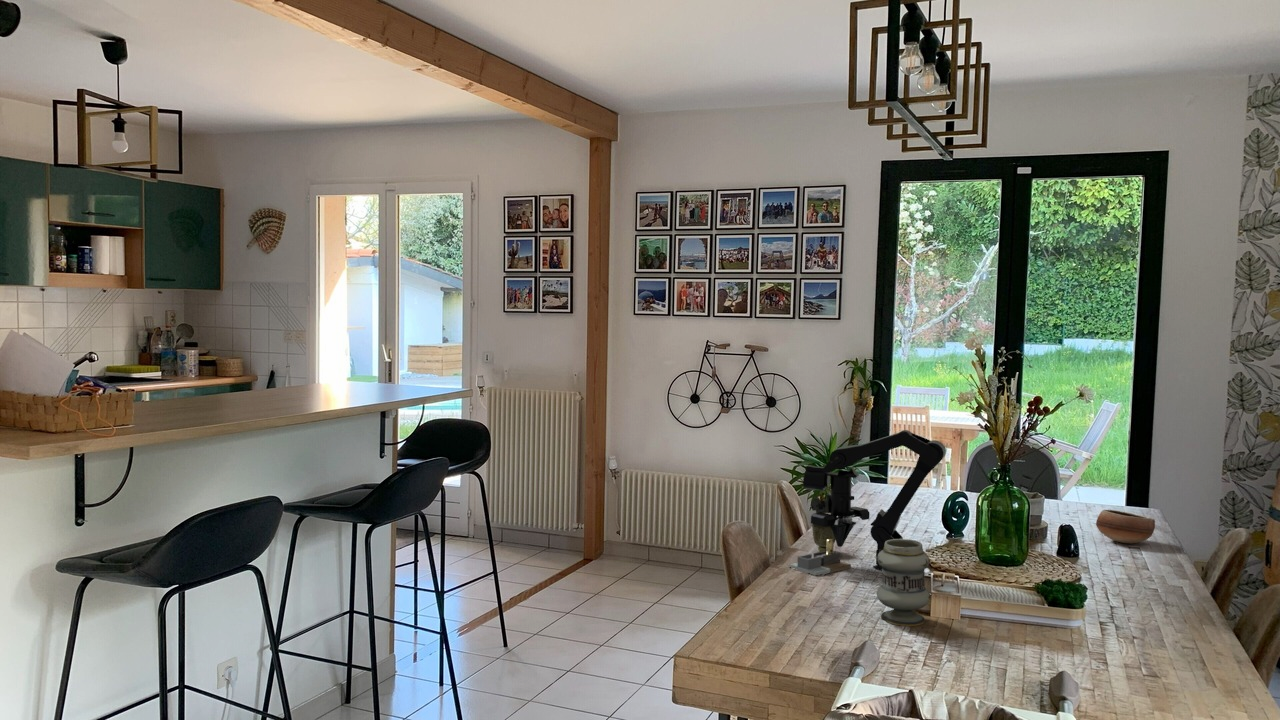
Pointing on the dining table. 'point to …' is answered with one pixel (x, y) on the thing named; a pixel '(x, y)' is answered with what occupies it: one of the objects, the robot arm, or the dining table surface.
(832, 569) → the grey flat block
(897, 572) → the apothecary jar
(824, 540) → the cup
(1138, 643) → the dining table surface
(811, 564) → the jamb keeper
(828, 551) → the bolt
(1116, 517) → the bowl
